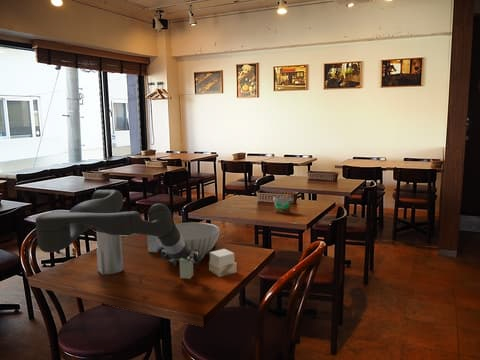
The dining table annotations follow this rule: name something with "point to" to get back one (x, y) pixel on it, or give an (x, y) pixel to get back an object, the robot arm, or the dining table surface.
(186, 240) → the decorative bowl
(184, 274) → the pale green block
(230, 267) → the bottom block
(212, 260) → the white block
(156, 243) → the medicine box
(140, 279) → the dining table surface
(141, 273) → the dining table surface
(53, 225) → the robot arm
